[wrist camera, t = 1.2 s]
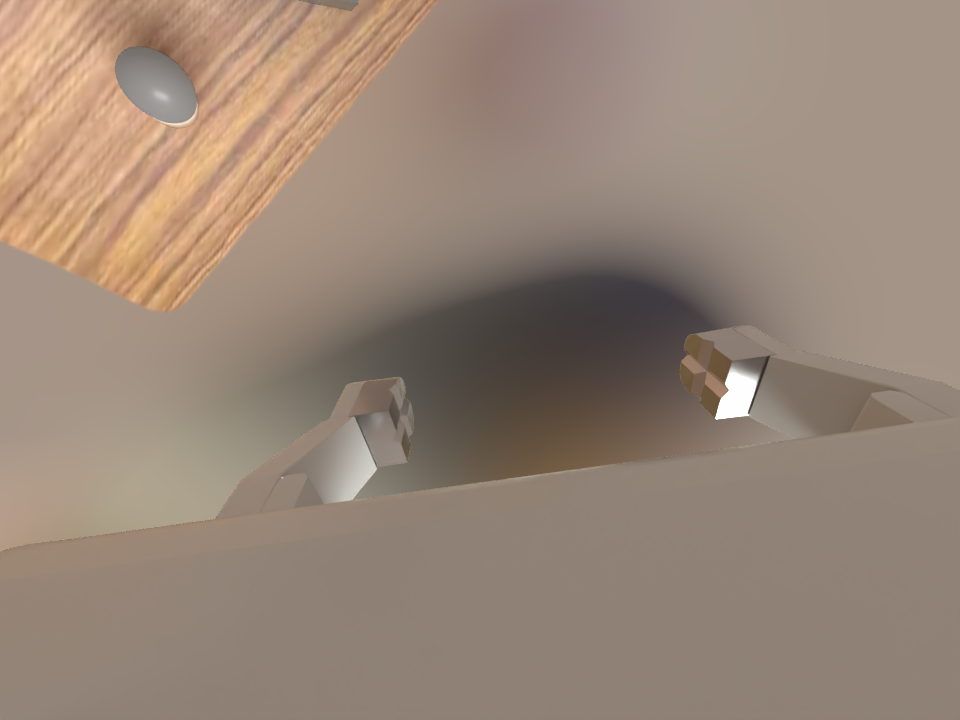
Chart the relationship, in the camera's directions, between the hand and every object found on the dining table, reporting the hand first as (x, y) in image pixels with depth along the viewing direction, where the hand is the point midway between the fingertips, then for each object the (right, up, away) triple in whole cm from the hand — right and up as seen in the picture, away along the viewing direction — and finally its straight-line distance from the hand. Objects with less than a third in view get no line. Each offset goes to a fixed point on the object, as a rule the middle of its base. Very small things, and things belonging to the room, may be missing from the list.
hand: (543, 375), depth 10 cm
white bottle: (-32, +25, +23) cm, 46 cm away
